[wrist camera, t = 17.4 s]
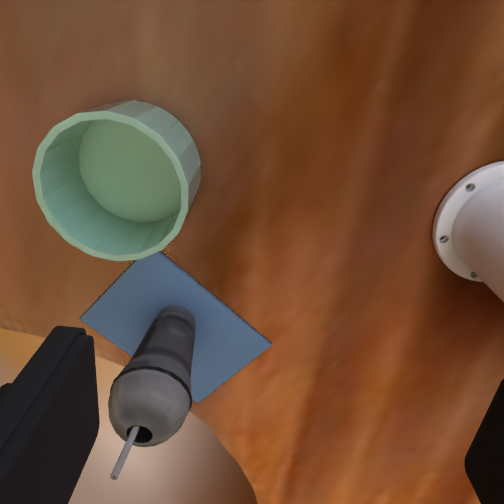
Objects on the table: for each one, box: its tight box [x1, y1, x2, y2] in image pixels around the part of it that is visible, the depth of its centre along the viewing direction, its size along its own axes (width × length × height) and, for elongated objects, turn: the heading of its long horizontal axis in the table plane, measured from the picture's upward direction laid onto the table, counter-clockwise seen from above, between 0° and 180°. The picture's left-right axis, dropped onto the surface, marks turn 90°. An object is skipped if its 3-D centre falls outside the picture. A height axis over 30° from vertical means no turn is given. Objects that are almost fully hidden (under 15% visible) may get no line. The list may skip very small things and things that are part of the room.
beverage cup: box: [108, 306, 196, 480], centre depth 38 cm, size 7×7×20 cm
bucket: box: [32, 100, 201, 261], centre depth 37 cm, size 12×12×8 cm
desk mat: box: [80, 251, 271, 403], centre depth 48 cm, size 18×13×1 cm
